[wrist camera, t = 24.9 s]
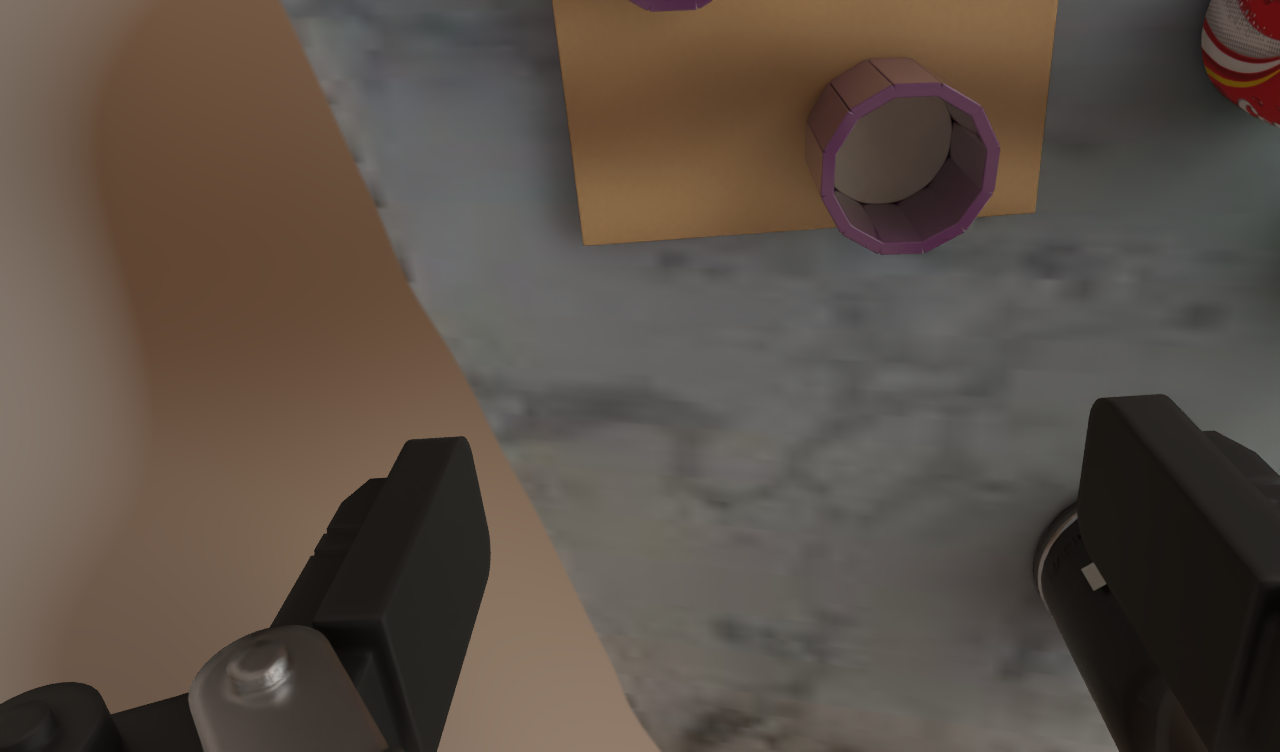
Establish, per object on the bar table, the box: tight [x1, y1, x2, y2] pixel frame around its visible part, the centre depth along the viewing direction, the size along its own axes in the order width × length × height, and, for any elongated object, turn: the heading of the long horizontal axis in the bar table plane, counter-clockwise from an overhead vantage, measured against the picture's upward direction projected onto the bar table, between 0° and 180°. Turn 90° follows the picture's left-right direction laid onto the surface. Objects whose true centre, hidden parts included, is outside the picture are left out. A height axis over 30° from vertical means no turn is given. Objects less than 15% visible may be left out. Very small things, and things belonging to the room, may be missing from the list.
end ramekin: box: [805, 57, 1000, 255], centre depth 33 cm, size 6×6×5 cm
